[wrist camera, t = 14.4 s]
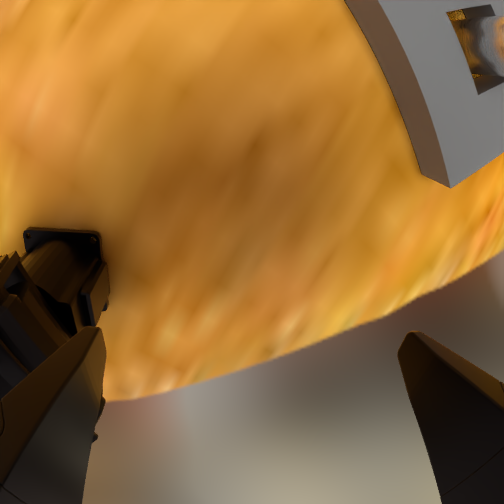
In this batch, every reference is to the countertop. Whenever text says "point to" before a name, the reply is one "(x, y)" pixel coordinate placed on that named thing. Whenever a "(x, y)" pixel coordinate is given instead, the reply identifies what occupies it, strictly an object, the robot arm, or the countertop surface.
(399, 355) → the robot arm
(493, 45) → the peg
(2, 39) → the countertop surface
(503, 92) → the socket block
